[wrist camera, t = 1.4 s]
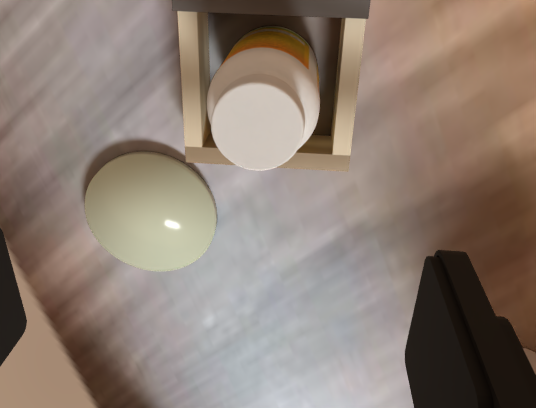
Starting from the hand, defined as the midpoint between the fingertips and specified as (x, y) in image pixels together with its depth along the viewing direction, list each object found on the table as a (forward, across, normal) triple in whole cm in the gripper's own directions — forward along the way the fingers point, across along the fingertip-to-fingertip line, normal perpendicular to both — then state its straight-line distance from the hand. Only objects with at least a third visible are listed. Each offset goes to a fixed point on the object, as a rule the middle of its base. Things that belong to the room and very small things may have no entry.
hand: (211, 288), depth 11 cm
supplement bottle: (+21, 0, 0) cm, 21 cm away
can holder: (+21, 0, 0) cm, 21 cm away
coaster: (+21, +8, +10) cm, 25 cm away
